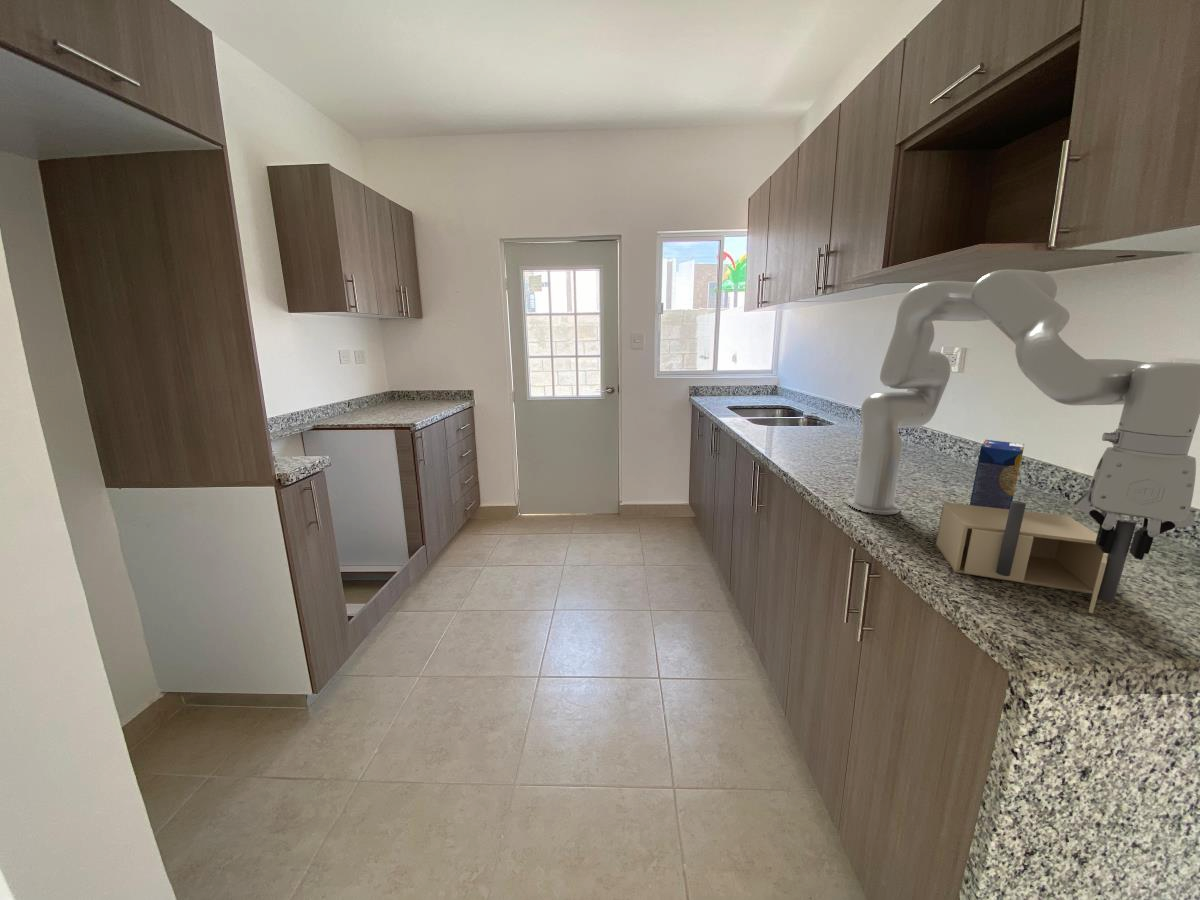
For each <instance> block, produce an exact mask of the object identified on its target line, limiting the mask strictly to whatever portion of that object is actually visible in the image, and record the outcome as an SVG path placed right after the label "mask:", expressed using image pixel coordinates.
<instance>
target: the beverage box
mask: <svg viewBox="0 0 1200 900" xmlns="http://www.w3.org/2000/svg"><path fill="white" fill-rule="evenodd" d="M1024 448H1025V443H1019V442H1012V441H1011V442H1010V441H1009V442H1007V441H1001V440H992V439H991V440H990V439H985V440H984V441H983V443H982V445H981V446H980V451H979V456H978V460H977V465H976V470H975V476H974V480H973V486H972V491H971V497H970V502H969V505H973V506H982V507H991V508H1001V509H1010V505H1011V501H1014V496H1015V490H1016V486H1017V480H1018V477H1019V471H1020V468H1021V464H1022V463H1021V462H1022V458H1023V453H1024Z"/></svg>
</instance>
